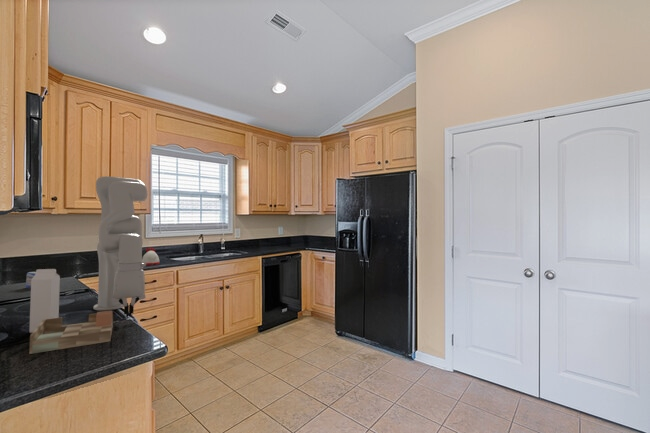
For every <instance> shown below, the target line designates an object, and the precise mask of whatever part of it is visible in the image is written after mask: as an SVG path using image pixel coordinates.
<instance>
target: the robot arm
mask: <svg viewBox="0 0 650 433" xmlns="http://www.w3.org/2000/svg"><path fill="white" fill-rule="evenodd" d="M95 191H96V195H97V198H98V199H99V202H100V207H101V214H100V216H101V217H100V219H101V220H100V221H101V222H100V224H99V227H98V243H97V245H96V246H97V247H96V252H97V257H98V286H97V287H98V288H97V289H98V290H97V296H98V297H97V303H96V304H94V305H93V310H94V311H98V312H103V311H111V310H112V311H114V310H118V309H122V308H124V309H123V315H126V316H125V317H126V318H129V317H132V314H134V307H135V305H136V303H138V302H139V301H140V300H145V299H146V294H145V293H146V285H145V284H146V281H145V280H146V277H145V271H144V269H143V268H147V265H146V264H144V263H142V259H143V225H142V220H141V218H140V217H139V216H137V215H134V214H135V205H134V202H145V201H146V200H147V198H148V189H147V186H146V184H145V183H144V182H143V181H141V180H140V179H137V178H130V177H119V176H109V175H107V176H101V177H98V178H97V179H96V182H95ZM129 298H131V301H130V303H129V302H128V299H129Z"/></svg>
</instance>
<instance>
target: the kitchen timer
mask: <svg viewBox="0 0 650 433" xmlns="http://www.w3.org/2000/svg"><path fill="white" fill-rule="evenodd" d="M145 251H146V253H145V254H144V255H142V263H144V264H146V266H154V265H153V264H155V265H159V264H160V257H159V255H158V254H157V253H156V251H157V249H155V248H153V247H146V249H145Z"/></svg>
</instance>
